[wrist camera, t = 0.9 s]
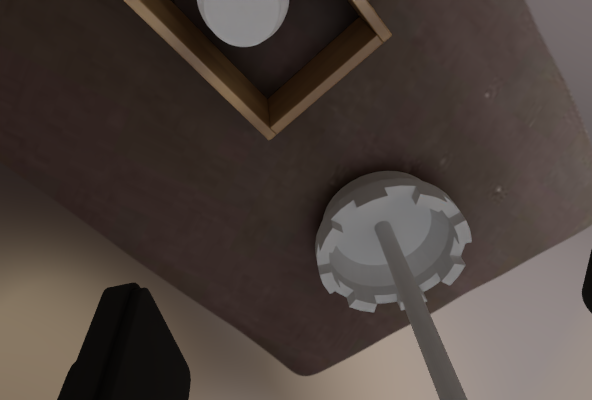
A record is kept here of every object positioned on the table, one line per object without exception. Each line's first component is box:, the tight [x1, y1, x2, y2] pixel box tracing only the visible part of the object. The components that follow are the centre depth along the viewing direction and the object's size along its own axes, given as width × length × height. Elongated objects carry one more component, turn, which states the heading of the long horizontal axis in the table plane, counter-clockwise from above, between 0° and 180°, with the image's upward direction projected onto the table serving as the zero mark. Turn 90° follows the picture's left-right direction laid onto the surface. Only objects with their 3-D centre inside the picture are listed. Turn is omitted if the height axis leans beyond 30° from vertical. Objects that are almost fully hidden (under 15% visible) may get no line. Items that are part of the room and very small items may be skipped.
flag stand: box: [315, 171, 472, 400], centre depth 30 cm, size 13×13×30 cm
